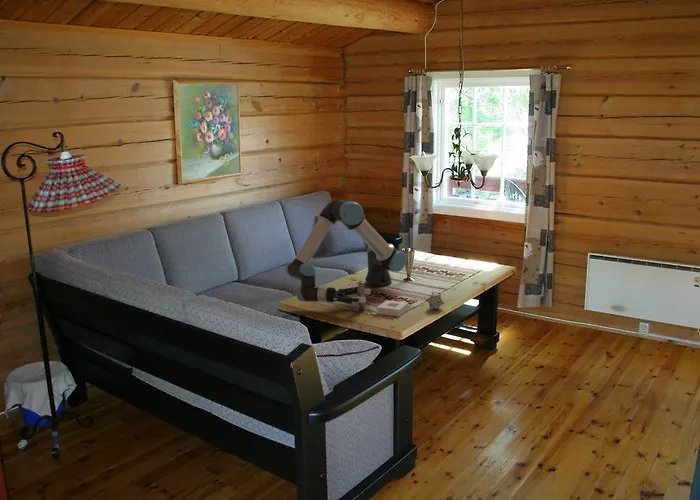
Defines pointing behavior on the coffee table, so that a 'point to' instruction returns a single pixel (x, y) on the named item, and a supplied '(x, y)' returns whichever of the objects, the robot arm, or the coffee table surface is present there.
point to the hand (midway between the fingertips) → (367, 295)
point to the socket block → (393, 308)
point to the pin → (361, 295)
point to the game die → (435, 301)
